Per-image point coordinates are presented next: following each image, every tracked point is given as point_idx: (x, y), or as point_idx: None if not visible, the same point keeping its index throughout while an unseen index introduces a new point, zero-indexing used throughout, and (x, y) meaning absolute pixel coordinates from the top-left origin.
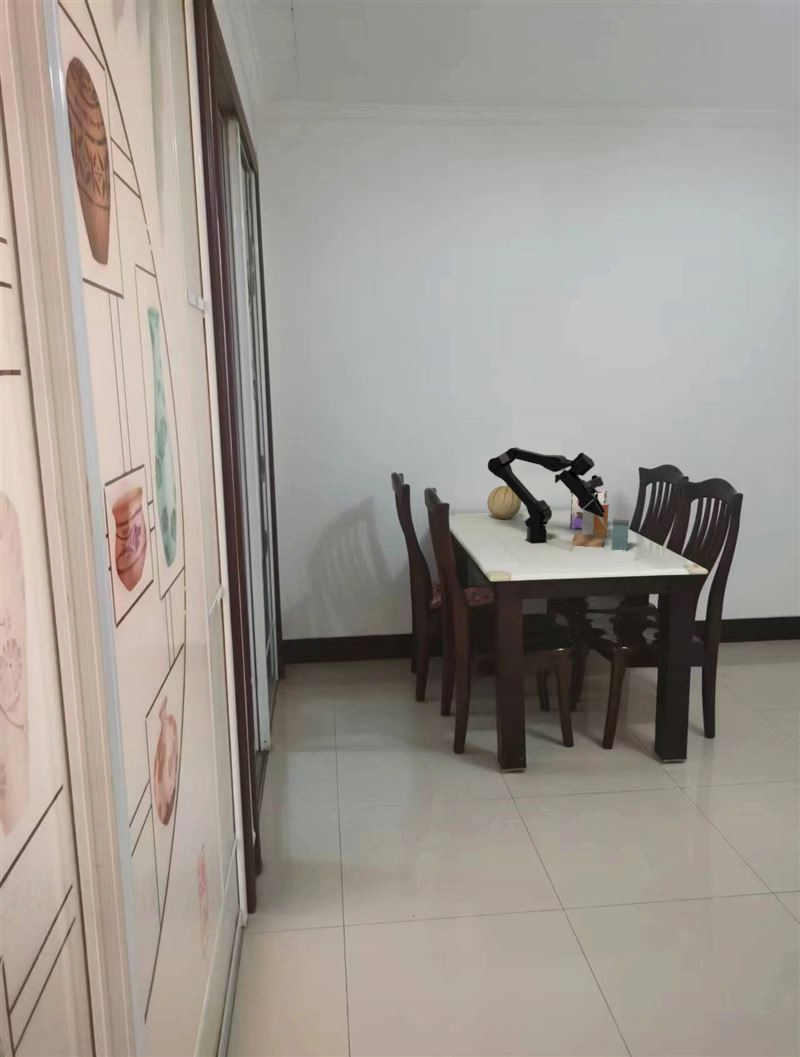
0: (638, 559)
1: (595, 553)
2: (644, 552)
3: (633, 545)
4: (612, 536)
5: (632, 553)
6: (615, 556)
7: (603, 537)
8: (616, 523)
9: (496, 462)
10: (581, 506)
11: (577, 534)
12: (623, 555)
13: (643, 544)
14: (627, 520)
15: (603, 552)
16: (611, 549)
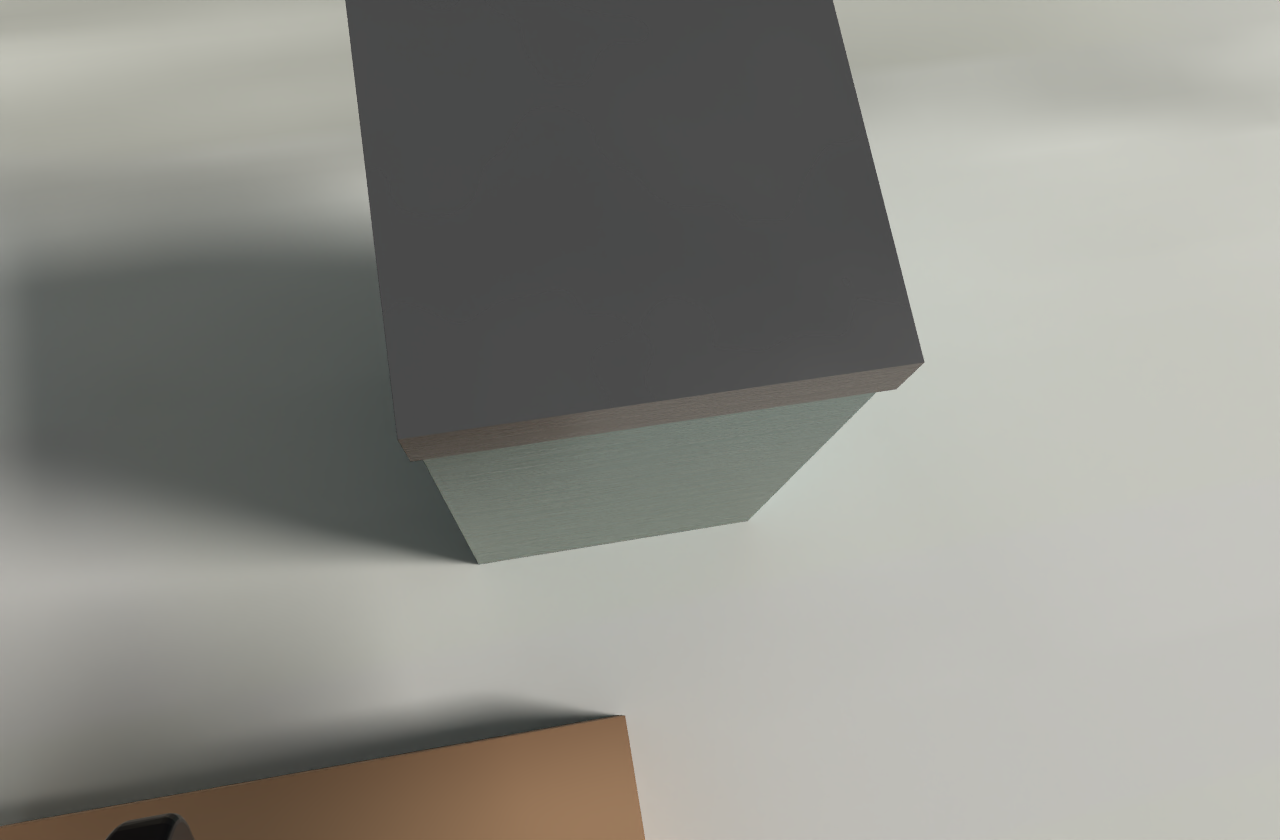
0: (1161, 52)
1: (1150, 722)
2: None
3: (171, 247)
4: (801, 458)
5: None
6: (1170, 372)
7: (211, 796)
8: (885, 265)
9: None
10: None
11: None
12: (1031, 275)
13: (17, 112)
14: (406, 9)
15: (996, 610)
16: (747, 518)
